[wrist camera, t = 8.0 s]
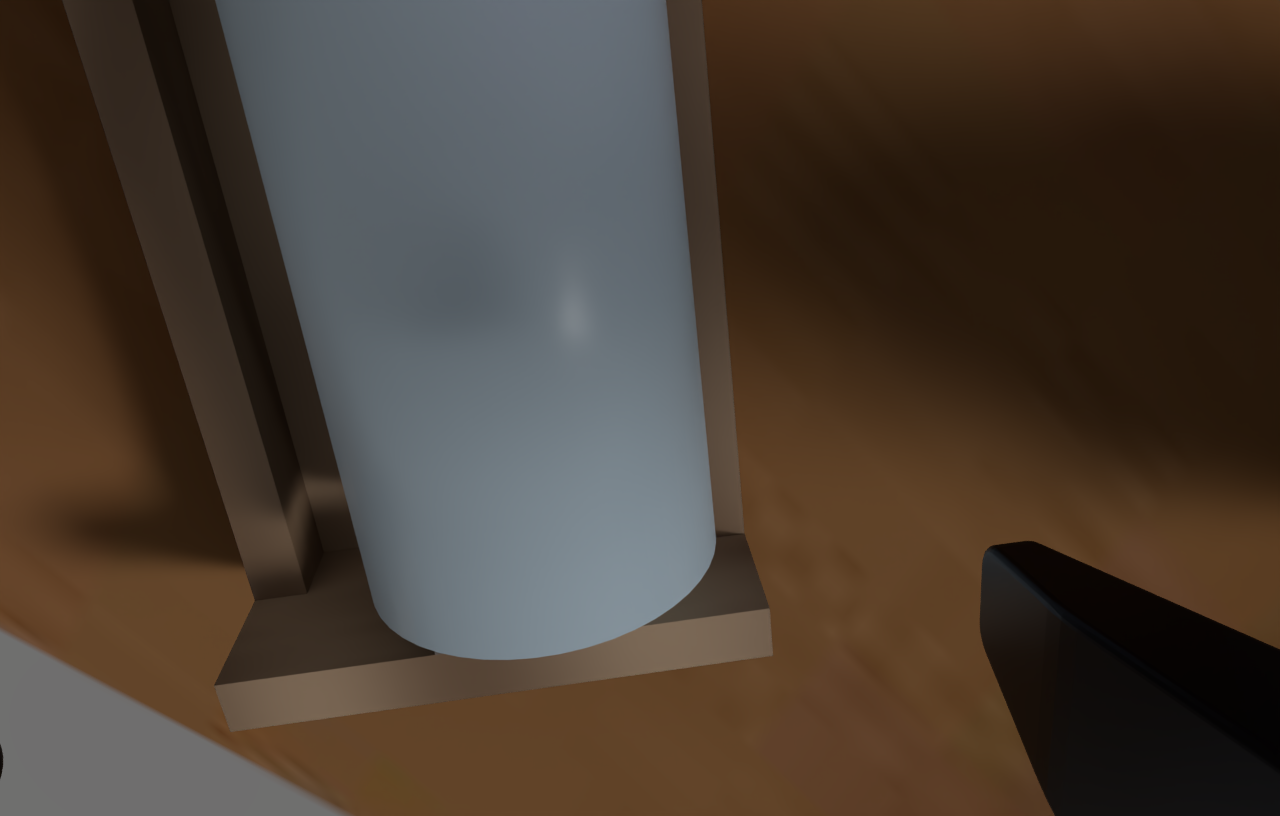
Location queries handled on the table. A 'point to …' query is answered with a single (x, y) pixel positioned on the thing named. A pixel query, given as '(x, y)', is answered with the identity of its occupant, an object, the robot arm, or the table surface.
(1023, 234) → the table surface
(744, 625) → the holder
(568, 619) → the roll
